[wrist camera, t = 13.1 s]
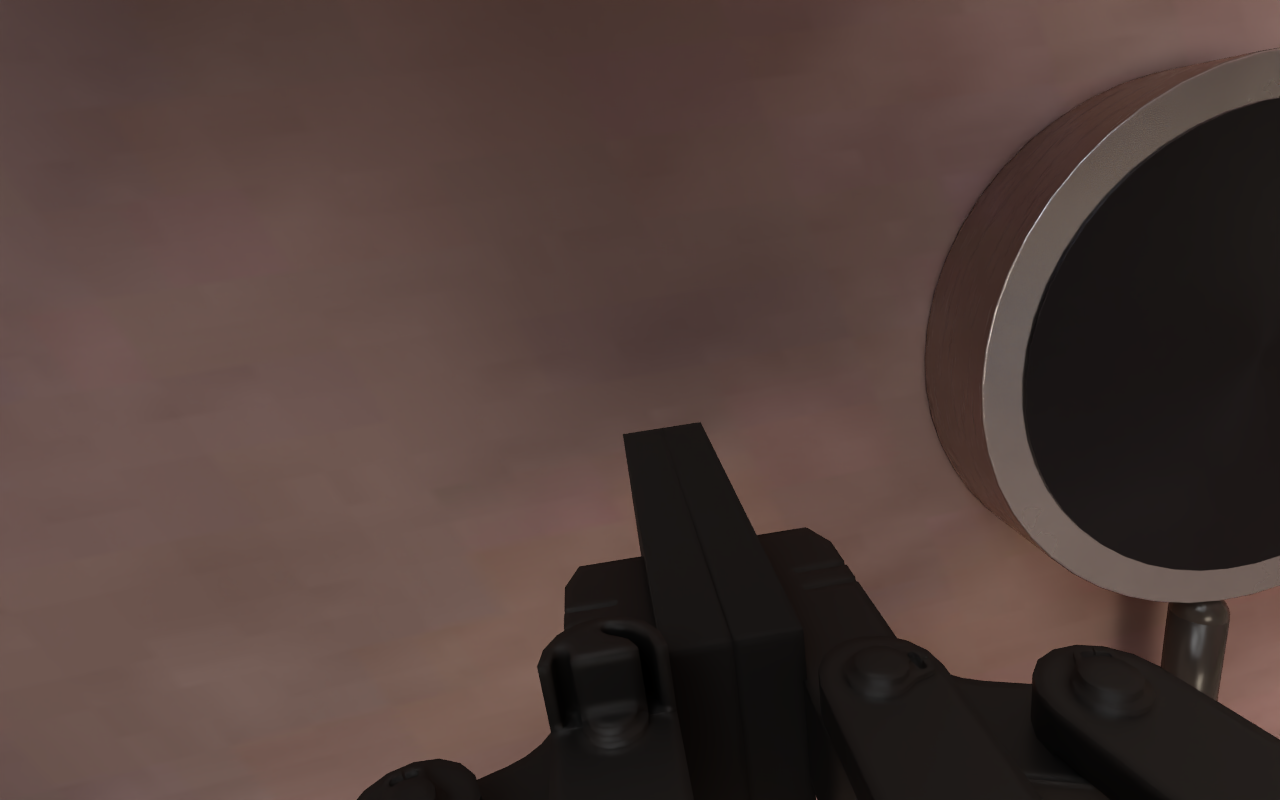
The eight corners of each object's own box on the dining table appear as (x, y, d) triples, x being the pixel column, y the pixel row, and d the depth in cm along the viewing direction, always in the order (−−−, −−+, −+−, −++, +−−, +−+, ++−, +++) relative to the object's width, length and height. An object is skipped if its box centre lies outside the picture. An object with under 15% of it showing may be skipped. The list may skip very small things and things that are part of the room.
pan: (928, 92, 21) (996, 73, 18) (1441, 41, 22) (1602, 13, 18) (918, 760, 28) (966, 840, 24) (1310, 703, 29) (1410, 773, 25)
